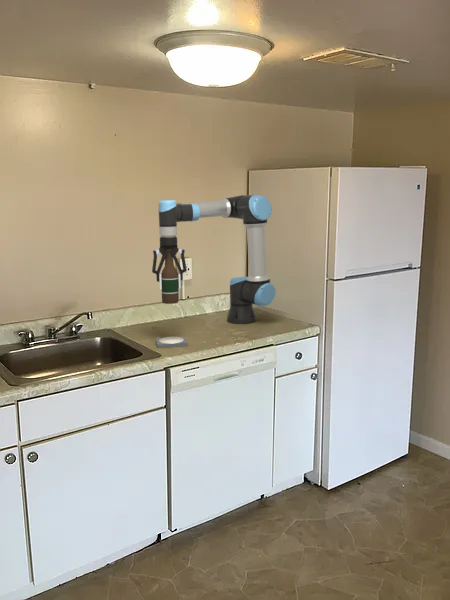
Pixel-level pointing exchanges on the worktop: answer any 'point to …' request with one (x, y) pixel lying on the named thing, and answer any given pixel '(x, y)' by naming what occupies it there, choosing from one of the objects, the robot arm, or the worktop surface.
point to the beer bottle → (169, 281)
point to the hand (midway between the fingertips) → (170, 288)
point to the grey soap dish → (171, 342)
